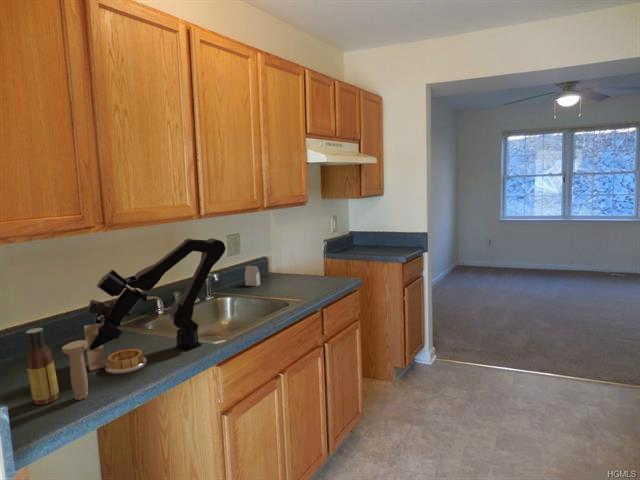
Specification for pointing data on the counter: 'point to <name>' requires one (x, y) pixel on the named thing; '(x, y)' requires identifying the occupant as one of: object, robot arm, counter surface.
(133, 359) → the segmented gold bowl
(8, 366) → the counter surface
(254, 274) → the small carton
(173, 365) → the counter surface
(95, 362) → the post
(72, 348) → the handle
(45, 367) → the sauce bottle
